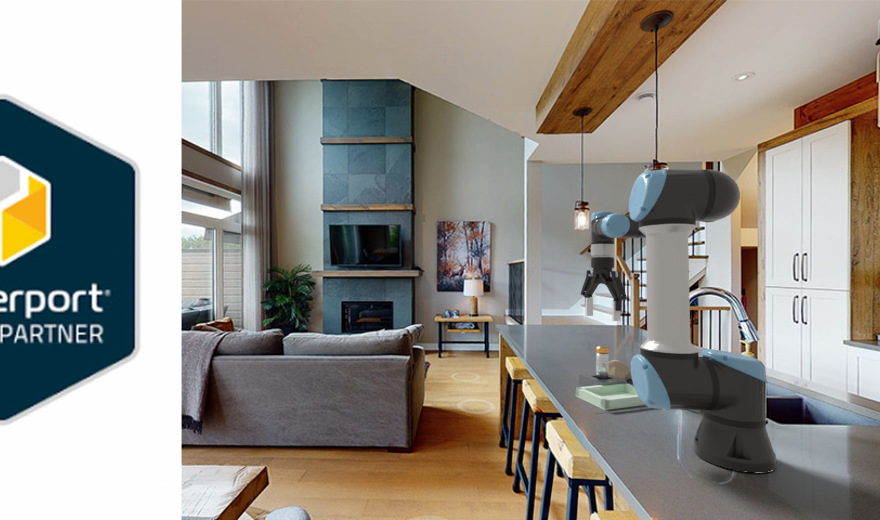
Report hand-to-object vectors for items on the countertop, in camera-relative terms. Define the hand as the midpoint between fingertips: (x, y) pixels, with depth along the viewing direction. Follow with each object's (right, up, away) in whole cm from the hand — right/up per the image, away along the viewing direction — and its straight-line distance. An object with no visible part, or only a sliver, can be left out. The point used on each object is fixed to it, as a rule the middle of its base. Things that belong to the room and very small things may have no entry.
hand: (602, 318), depth 147 cm
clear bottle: (0, -24, 0) cm, 24 cm away
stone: (+10, -25, +11) cm, 29 cm away
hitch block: (0, -24, 0) cm, 24 cm away
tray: (-1, -24, -13) cm, 28 cm away
